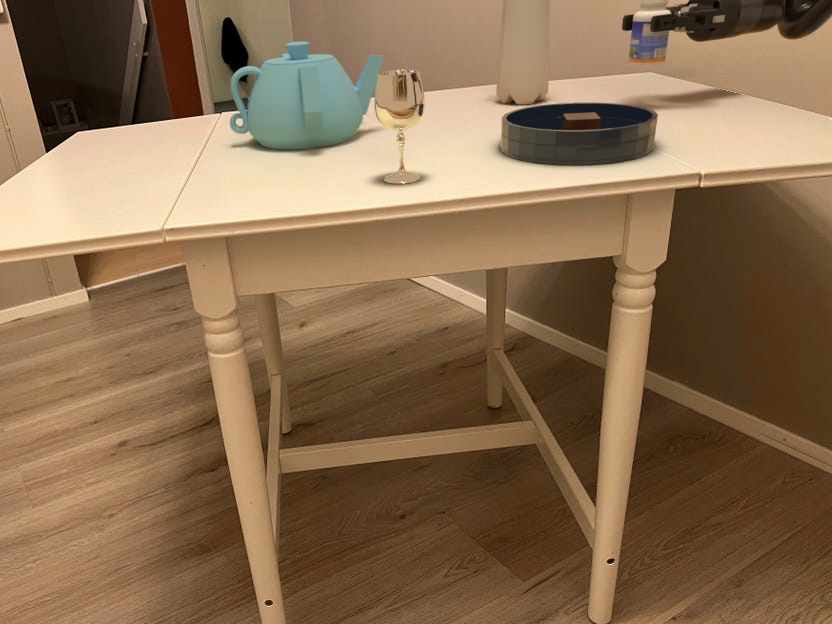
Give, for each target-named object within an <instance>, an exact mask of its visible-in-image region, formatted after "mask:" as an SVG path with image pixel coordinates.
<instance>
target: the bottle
mask: <svg viewBox="0 0 832 624" xmlns="http://www.w3.org/2000/svg"><path fill="white" fill-rule="evenodd" d="M549 47H550V0H502V13H501V27H500V41H499V55H498V60H497V65H496V88H495V89H496V90H495V93H496V96H497V97H498V100H499V101H500V102H501V103H502V104H503V105H504V104H510V103H512V102H513V101H514V102H515V104H516V105H531V104H534V102H537V101H538V102H539V101H541V102H542V101H543V100H544V99H545V98H546V96H547V94H548V93H549V84H550V83H549V81H550V69H551V61H550V53H549V52H550V51H549V50H550V49H549Z"/></svg>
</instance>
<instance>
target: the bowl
mask: <svg viewBox="0 0 832 624" xmlns="http://www.w3.org/2000/svg"><path fill="white" fill-rule="evenodd" d="M592 112H595V113H596V114H597V115H598V116H599V117H600V118H601V121H600V129H598V130H562V122H563V114H570V113H592ZM658 117H659V114H658V113H657V112H656V111H655V110H654V109H650V108H647V107H644V106H639V105H633V104H625V103H615V102H594V101H593V102H578V101H577V102H560V103H548V104H539V105H534V106H525V107H522V108H518V109H514V110H512V111H508V112H506V113H505V114H503V116H501V118H500V119H501V120H500V121H501V122H500V123H501V124H500V150H501V152H502V153H503V154H504V155H506V156H508V157H509V158H512V159H516V160H519V161H522V162H529V163H535V164H544V165H556V166H591V165H593V166H594V165H605V164H615V163H621V162H626V161H631V160H636V159H639V158H642V157H645V156H646V155H648V154H650V153H651V152H653V150H654V147H655V139H656V133H657V124H658Z"/></svg>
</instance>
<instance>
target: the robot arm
mask: <svg viewBox="0 0 832 624" xmlns="http://www.w3.org/2000/svg"><path fill="white" fill-rule="evenodd" d="M666 9H667V10H669V11H670V12H671V14H664V15H656V16H653V17H652V19H651V27H650V31H651V32H661V31H669V32H674V33H685V34H686V36H687V37H688V38H689V39H690V40H691V41H694V42H698V43H702V42H710V41H711V42H712V41H717V40H724V39H731V38H732V39H733V38H735V37H739V36H742V35H748V34H755V33H757V34H758V33H762V32H766V31H769V30H771V29H772V28H774V27H775V26H776V27H777V31H778V33H779V35H780V36H781V37H782V38H784V39H786V40H791V41H792V40H793V41H794V40H795V41H796V40H799V39H803V38H806V37H808V36H810V35H811V34H813V33H816V31H818V30H819V29H820V28H821V27H823V26H824V25H825V24H826V23H827V22H828V21H829V20H830V19H831V18H832V0H688V1H687V2H685V3H684V2H683V3H676V4H674V5H670V6H667V5H666ZM634 14H635V13H631V14H625V15H624V16H623V17H622V23H621V31H623V32H630V31H631V32H632V24H633V16H634Z"/></svg>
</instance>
